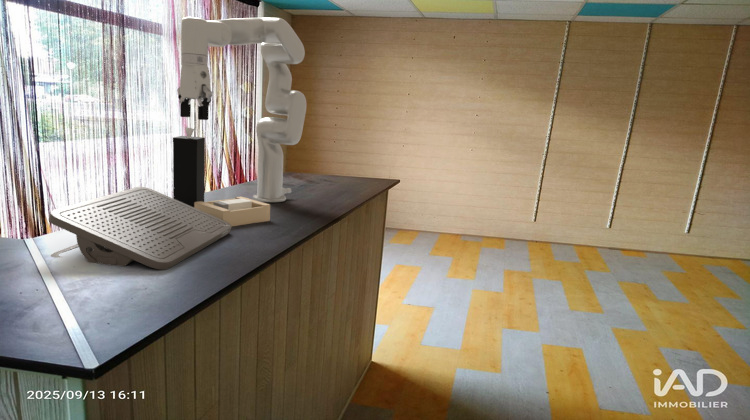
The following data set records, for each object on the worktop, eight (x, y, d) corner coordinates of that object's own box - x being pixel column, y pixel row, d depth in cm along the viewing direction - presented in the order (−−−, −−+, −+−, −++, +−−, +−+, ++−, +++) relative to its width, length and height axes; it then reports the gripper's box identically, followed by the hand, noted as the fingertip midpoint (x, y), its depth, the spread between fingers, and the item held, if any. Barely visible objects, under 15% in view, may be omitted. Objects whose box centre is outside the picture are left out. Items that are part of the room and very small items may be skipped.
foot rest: (164, 281, 118) (164, 226, 116) (40, 265, 122) (37, 211, 119) (235, 237, 156) (235, 195, 153) (138, 226, 160) (138, 184, 157)
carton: (241, 213, 184) (241, 196, 182) (269, 222, 174) (270, 204, 173) (194, 220, 170) (194, 202, 168) (222, 230, 161) (223, 211, 159)
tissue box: (196, 213, 178) (196, 129, 172) (173, 212, 178) (172, 127, 172) (204, 209, 186) (205, 127, 180) (181, 207, 186) (181, 125, 180)
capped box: (241, 216, 178) (242, 198, 176) (251, 219, 175) (251, 201, 173) (213, 220, 169) (213, 201, 168) (222, 223, 166) (223, 204, 165)
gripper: (222, 62, 159) (221, 121, 163) (189, 61, 170) (189, 116, 173) (199, 60, 153) (199, 120, 157) (167, 59, 164) (167, 115, 168)
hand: (194, 118), depth 165 cm, fingers open, 9 cm apart
